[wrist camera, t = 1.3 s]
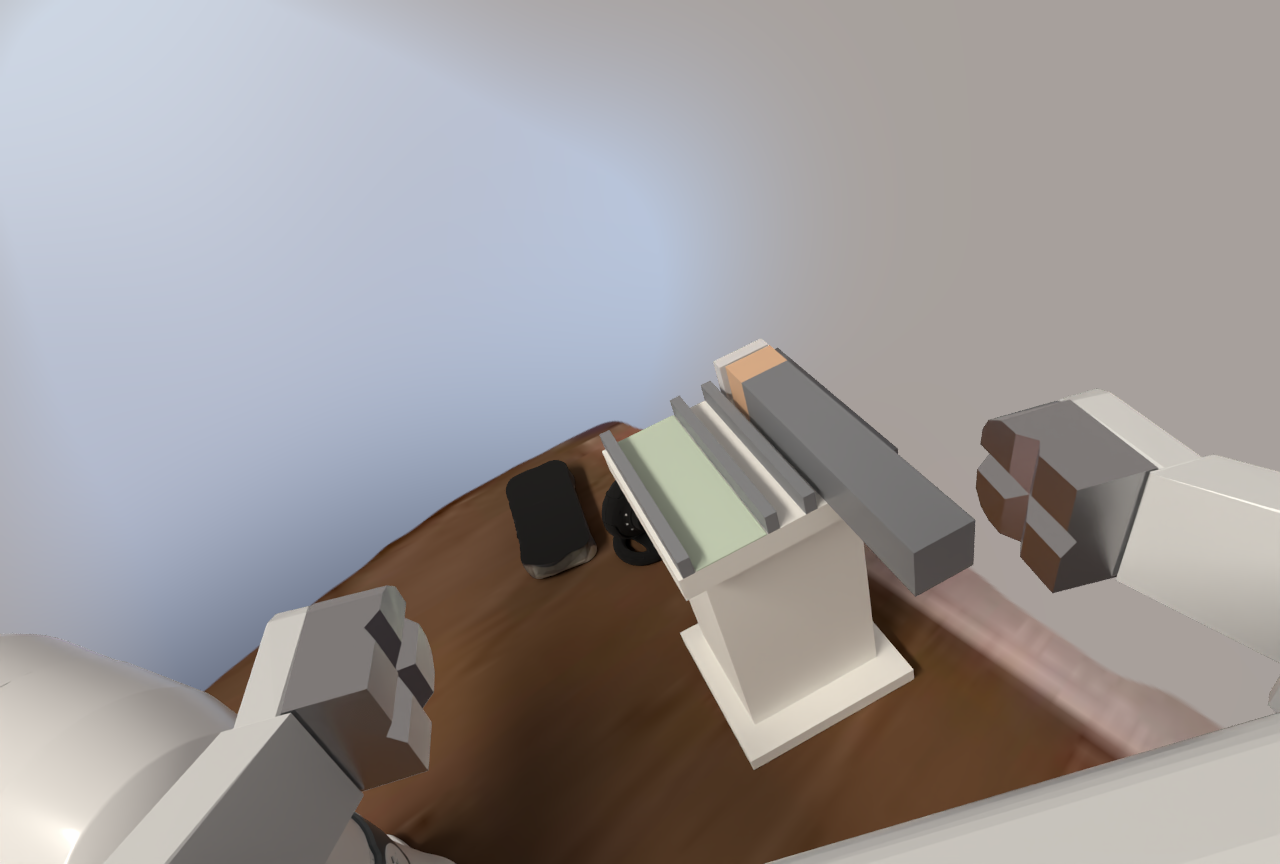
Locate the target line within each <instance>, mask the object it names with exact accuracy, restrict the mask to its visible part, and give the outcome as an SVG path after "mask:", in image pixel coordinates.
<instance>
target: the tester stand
mask: <svg viewBox="0 0 1280 864" xmlns="http://www.w3.org/2000/svg"><path fill="white" fill-rule="evenodd" d="M767 346H768V344H767V343H766V342H765V341H763V340H762V339H759V340H757V341H755V342H753V343H751V344H749V345H747V346H744V347H742V348H740V349H738V350H736V351H734V352H732V353H730V354H728V355H726V356H724V357H722V358H720V359H718V360H716V361H714V362H713V363H714V366H715V370H716V373H717V378H718V382H719V386H720V389H721V392H720V391H719V390H718V388H717V387H716V386H715V385H714V384H713V383H712V382H711V381H709V382H707V383H705V384H703V385H701V388H702V391H703V395H704V398H705V401H703V402H701V403H699V404H697V405H695V406H693V407H691V408H689V407H688V405H687V404H686V403H685V402H684V401H683V399H682V398H681V397H680V396H678V397H676V398H674V399H672V400H670V402H671V406H672V409H673V412H674V415H675V416H671V417H669V418H666V419H664V420H662V421H660V422H658V423H656V424H654V425H652V426H650V427H648V428H646V429H644V430H642V431H640V432H638V433H636V434H634V435H632V436H630V437H628V438H626V439H624V440H622V441H620V442H618V443H617V442H616V440H615V438H614V437H613V435H612V434H611V432H610V430H608V431H606V432H604V433H602V434H600V437H601V440H602V442H603V445H604V447H605V449H606V450H604V451H602V452H603V455H604V457H605V459H606V462H607V464H608V466H609V469H610V471H611V473H612V474H613V476H614V478H615V479H616V481H617V483H618V485H619V486H620V488H621V490H622V491H623V493H624V495H625V497H626V498H627V500H628V502H629V503H630V505H631V507H632V509H633V510H634V512H635V514H636V515H637V517H638V519H639V521H640V522H641V524H642V526H643V527H644V529H645V531H646V533H647V534H648V536H649V538H650V539H651V541H652V543H653V545H654V546H655V548H656V550H657V551H658V553H659V555H660V557H661V558H662V560H663V562H664V563H665V565H666V567H667V569H668V570H669V572H670V574H671V575H672V577H673V579H674V581H675V582H676V584H677V586H678V587H679V589H680V591H681V593H682V594H683V596H684V598H685V599H686V601H688V600H689V601H690V603H691V606H692V608H693V611H694V613H695V616H696V619H697V621H698V624H696V625H694V626H692V627H690V628H688V629H686V630H685V631H683V632H681V633H680V634H681V636H682V639H683V641H684V643H685V645H686V647H687V648H688V650H689V652H690V654H691V656H692V658H693V659H694V661H695V663H696V665H697V667H698V669H699V670H700V672H701V674H702V676H703V678H704V680H705V681H706V683H707V685H708V687H709V689H710V691H711V692H712V694H713V696H714V698H715V700H716V702H717V703H718V705H719V707H720V709H721V711H722V713H723V714H724V716H725V718H726V720H727V722H728V724H729V725H730V727H731V729H732V731H733V733H734V735H735V736H736V738H737V740H738V742H739V744H740V746H741V747H742V749H743V751H744V753H745V755H746V757H747V758H748V760H749V762H750V764H751V766H752V768H753V769H754V770H755V769H757V768H759V767H760V766H762V765H764V764H766V763H767V762H769V761H771V760H773V759H774V758H776V757H778V756H780V755H781V754H783V753H785V752H787V751H788V750H790V749H792V748H794V747H795V746H797V745H799V744H801V743H802V742H804V741H806V740H808V739H809V738H811V737H813V736H815V735H816V734H818V733H820V732H822V731H823V730H825V729H827V728H829V727H831V726H832V725H834V724H836V723H838V722H839V721H841V720H843V719H845V718H846V717H848V716H850V715H852V714H853V713H855V712H857V711H859V710H860V709H862V708H864V707H866V706H867V705H869V704H871V703H873V702H874V701H876V700H878V699H880V698H881V697H883V696H885V695H887V694H888V693H890V692H892V691H894V690H895V689H897V688H899V687H901V686H902V685H904V684H906V683H908V682H909V681H911V680H913V679H914V670H913V668H912V667H911V666H910V665H909V664H908V663H907V661H906V660H905V659H904V658H903V657H902V655H901V654H900V653H899V652H898V651H897V649H896V648H895V647H894V646H893V645H892V644H891V642H890V641H889V640H888V639H887V638H886V636H885V635H884V634H883V633H882V632H881V631H880V629H879V628H878V627H877V626H876V625H875V623H874V622H873V621H872V612H871V603H870V595H869V586H868V577H867V568H866V560H865V551H864V542H863V540H862V539H861V538H860V537H859V536H858V535H857V534H856V533H855V532H854V531H853V530H852V529H851V528H850V527H849V526H848V525H847V524H846V522H845V521H844V520H843V519H842V518H841V517H840V516H839V515H838V514H837V513H836V512H835V511H834V510H833V509H832V508H831V507H830V506H829V504H828V503H827V502H826V501H825V500H824V499H823V498H822V497H821V496H820V495H819V494H818V493H817V492H816V491H815V490H814V489H813V488H812V486H811V485H810V484H809V483H808V482H807V481H806V480H805V479H804V478H803V477H802V476H801V475H800V474H799V473H798V472H797V471H796V469H795V468H794V467H793V466H792V465H791V464H790V463H789V462H788V461H787V460H786V459H785V458H784V457H783V456H782V455H781V454H780V453H779V451H778V450H777V449H776V448H775V447H774V446H773V445H772V444H771V443H770V442H769V441H768V440H767V439H766V438H765V437H764V436H763V435H762V433H761V432H760V431H759V430H758V429H757V428H756V427H755V426H754V425H753V424H752V423H751V422H750V421H749V420H748V419H747V418H746V417H745V415H744V414H743V413H742V412H741V411H740V410H739V409H738V408H737V407H736V406H735V404H734V400H733V396H732V392H731V388H730V384H729V380H728V376H727V372H726V368H725V367H726V366H728V365H730V364H732V363H734V362H736V361H738V360H740V359H742V358H744V357H746V356H748V355H750V354H752V353H754V352H757V351H759V350H761V349H763V348H765V347H767ZM775 350H776V351H777V352H778V353H779V354H781V355H782V356H783V357H784V358H785V359H786V360H788V361H789V362H790V363H791V364H792V365H793V366H795V367H796V368H797V369H798V370H799V371H801V372H802V373H803V374H804V375H805V376H806V377H808V378H809V379H810V380H811V381H812V382H813V383H815V384H816V385H817V386H818V387H819V388H821V389H822V390H823V391H824V392H825V393H826V394H828V395H829V396H830V397H831V398H832V399H834V400H835V401H836V402H837V403H838V404H839V405H841V406H842V407H843V408H844V409H845V410H846V411H848V412H849V413H850V414H851V415H852V416H854V417H855V418H856V419H857V420H858V421H859V422H861V423H862V424H863V425H864V426H865V427H866V428H868V429H869V430H870V431H871V432H872V433H874V434H875V435H876V436H877V437H878V438H879V439H881V440H882V441H883V442H884V443H885V444H886V445H888V446H889V447H890V448H891V449H892V450H894V451H895V452H896V453H897V454H898V449H897V448H896V447H895V446H894V445H893V444H892V443H890V442H889V441H888V440H887V439H886V438H884V437H883V436H882V435H881V434H880V433H878V432H877V431H876V430H875V429H874V428H873V427H871V426H870V425H869V424H868V423H866V422H865V421H864V420H863V419H862V418H860V417H859V416H858V415H857V414H856V413H855V412H853V411H852V410H851V409H850V408H849V407H848V406H846V405H845V404H844V403H843V402H842V401H840V400H839V399H838V398H837V397H835V396H834V395H833V394H832V393H831V392H830V391H828V390H827V389H826V388H825V387H824V386H823V385H821V384H820V383H819V382H818V381H817V380H815V379H814V378H813V377H812V376H811V375H809V374H808V373H807V372H806V371H805V370H803V369H802V368H801V367H800V366H799V365H798V364H796V363H795V362H794V361H793V360H792V359H790V358H789V357H788V356H787V355H786V354H784V353H783V352H782V351H781V350H780V349H779V348H776V349H775Z"/></svg>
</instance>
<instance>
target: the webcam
mask: <svg viewBox="0 0 1280 864" xmlns="http://www.w3.org/2000/svg"><path fill="white" fill-rule="evenodd" d="M602 520H603V523H604V526H605V528H606V530H607V531H608V532H609V533H610V534H611V535H613V536H614V538H613V547H614V550H615V552H616V554H617V556H618V557H619V558H620V559H621V560H623V561H624V562H626V563H628V564H631V565H637V566H643V565H648V564H651V563H654V562H657V561H659V560H661V559H662V558H661V557H660V555H659V553H658V551H657V550H656V548H655V546H654V545H653V543H652V541H651V539H650V538H649V536H648V534H647V533H646V531H645V529H644V527H643V526H642V524H641V522H640V521H639V519H638V517H637V515H636V514H635V512H634V510H633V509H632V507H631V505H630V503H629V502H628V500H627V498H626V497H625V495H624V493H623V491H622V490H621V488H620V486H619V485H618V483H617V481H616V480H615V481H614V482H613V484H612V485H611V487H610V489H609V490H608V491H607V492H606V496H605V499H604V501H603V505H602ZM626 539H633V540H635V541H637V542H638V543H640V544H642V545H643V546H645V547H646V549H647V551H645V552H634V551H631V550H630V549H628V548H627V546H626Z"/></svg>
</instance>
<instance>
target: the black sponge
mask: <svg viewBox="0 0 1280 864" xmlns="http://www.w3.org/2000/svg"><path fill="white" fill-rule="evenodd" d="M506 494H507V498H508V500H509V506H510V509H511V512H512V516H513V519H514V523H515V527H516V531H517V538H518V539H519V543H520V551H521V562H522V564H523V566H524V567H525V569H526V570H527V572H528V573H529V574H530V575H531V576H532V577H533V578H536V579H541V578H545V577H549V576H553V575H555V574H557V573H560V572H562V571H564V570H567V569H570V568H572V567H575V566H578V565H580V564H583V563H585V562H588V561H589V560H591V559H592V558H593V557H594V556H595V554H596V552H597V546H596V543H595V541H594V539H593V537H592V536H591V533H590V531H589V527H588V524H587V521H586V519H585V516H584V513H583V510H582V507H581V505H580V502H579V499H578V496H577V494H576V491H575V479H574V476H573V475H572V473H571V472H570V471H569V469H568V467H567V465H566V464H565V463H564V462H562V461H559V460H553V461H549V462H547V463H545V464H543V465H540V466H538V467H536V468H533V469H530V470H527V471H525V472H523V473H521V474H519V475H517V476H515V477H513V478H512V479H511V480H510V481H509V482H508V484H507V487H506Z"/></svg>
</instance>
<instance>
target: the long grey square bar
mask: <svg viewBox="0 0 1280 864" xmlns="http://www.w3.org/2000/svg"><path fill="white" fill-rule="evenodd" d="M725 368H726V372H727V376H728V380H729V384H730V388H731V392H732V396H733V400H734V404H735V406H736V407H737V408H738V409H739V410H740V411H741V412H742V413H743V414H744V415H745V417H746V418H747V419H748V420H749V421H750V422H751V423H752V424H753V425H754V426H755V427H756V428H757V429H758V430H759V431H760V432H761V433H762V435H763V436H764V437H765V438H766V439H767V440H768V441H769V442H770V443H771V444H772V445H773V446H774V447H775V448H776V449H777V450H778V451H779V453H780V454H781V455H782V456H783V457H784V458H785V459H786V460H787V461H788V462H789V463H790V464H791V465H792V466H793V467H794V468H795V469H796V471H797V472H798V473H799V474H800V475H801V476H802V477H803V478H804V479H805V480H806V481H807V482H808V483H809V484H810V485H811V486H812V488H813V489H814V490H815V491H816V492H817V493H818V494H819V495H820V496H821V497H822V498H823V499H824V500H825V501H826V502H827V503H828V504H829V506H830V507H831V508H832V509H833V510H834V511H835V512H836V513H837V514H838V515H839V516H840V517H841V518H842V519H843V520H844V521H845V522H846V524H847V525H848V526H849V527H850V528H851V529H852V530H853V531H854V532H855V533H856V534H857V535H858V536H859V537H860V538H861V539H862V540H863V542H864V543H865V544H866V545H867V546H868V547H869V548H870V549H871V550H872V551H873V552H874V553H875V554H876V555H877V556H878V557H879V559H880V560H881V561H882V562H883V563H884V564H885V565H886V566H887V567H888V568H889V569H890V570H891V571H892V572H893V573H894V574H895V575H896V577H897V578H898V579H899V580H900V581H901V582H902V583H903V584H904V585H905V586H906V587H907V588H908V589H909V590H910V591H911V592H912V593H913V595H914V596H915V597H916V596H917V595H919V594H921V593H923V592H925V591H926V590H928V589H930V588H932V587H934V586H936V585H937V584H939V583H941V582H943V581H945V580H946V579H948V578H950V577H952V576H954V575H955V574H957V573H959V572H961V571H963V570H964V569H966V568H968V567H970V566H972V565H973V560H974V559H973V558H974V535H975V519H973V518H972V517H971V516H970V515H969V514H967V512H965V511H964V510H963V509H962V508H961V507H959V506H958V505H957V504H956V503H955V502H954V501H952V500H951V499H950V498H949V497H948V496H946V495H945V494H944V493H943V492H942V491H940V490H939V489H938V488H937V487H936V486H935V485H933V484H932V483H931V482H930V481H929V480H928V479H926V478H925V477H924V476H923V475H922V474H921V473H919V472H918V471H917V470H916V469H915V468H914V467H912V466H911V465H910V464H909V463H908V462H906V461H905V460H904V459H903V458H902V457H900V456H899V455H898V454H897V453H896V452H895V451H894V450H892V449H891V448H890V447H889V446H888V445H886V444H885V443H884V442H883V441H882V440H881V439H879V438H878V437H877V436H876V435H875V434H874V433H872V432H871V431H870V430H869V429H868V428H866V427H865V426H864V425H863V424H862V423H861V422H859V421H858V420H857V419H856V418H855V417H854V416H852V415H851V414H850V413H849V412H848V411H846V410H845V409H844V408H843V407H842V406H841V405H839V404H838V403H837V402H836V401H835V400H834V399H832V398H831V397H830V396H829V395H828V394H826V393H825V392H824V391H823V390H822V389H821V388H819V387H818V386H817V385H816V384H815V383H813V382H812V381H811V380H810V379H809V378H808V377H806V376H805V375H804V374H803V373H802V372H801V371H799V370H798V369H797V368H796V367H795V366H793V365H792V364H791V363H790V362H789V361H788V360H786V359H785V358H784V357H783V356H782V355H781V354H779V353H778V352H777V351H776V350H775V349H773V348H772V347H771V346H770V345H769V346H767V347H765V348H763V349H761V350H759V351H757V352H754V353H752V354H750V355H748V356H746V357H744V358H742V359H740V360H738V361H736V362H734V363H732V364H730V365H728V366H726V367H725Z"/></svg>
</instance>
